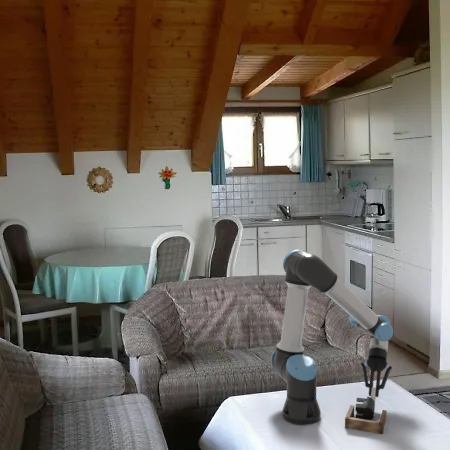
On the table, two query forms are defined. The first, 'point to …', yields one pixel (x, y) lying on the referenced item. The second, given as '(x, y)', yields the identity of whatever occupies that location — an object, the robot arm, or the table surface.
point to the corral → (365, 422)
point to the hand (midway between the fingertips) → (372, 403)
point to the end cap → (365, 408)
